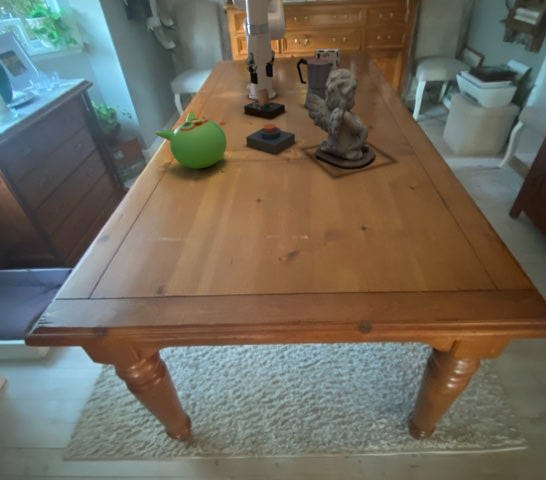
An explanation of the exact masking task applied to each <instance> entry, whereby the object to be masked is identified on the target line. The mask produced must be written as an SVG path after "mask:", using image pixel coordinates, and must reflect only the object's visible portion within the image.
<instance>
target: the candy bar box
mask: <svg viewBox="0 0 546 480" xmlns="http://www.w3.org/2000/svg"><path fill="white" fill-rule="evenodd" d="M318 53H319V54H321V56H320V58H322V59H327V60H329V61H331V62H333V63H334V65H333V66H332V68H331V70H330V72H329V74H328V77H329V76H330V74H331V72H333V71H334V70H337V69H341V48H316V49H315V50H314V58H317V54H318ZM328 77H327V80H328ZM325 91H326V85H325Z"/></svg>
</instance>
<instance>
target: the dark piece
mask: <svg viewBox="0 0 546 480" xmlns="http://www.w3.org/2000/svg"><path fill="white" fill-rule="evenodd" d="M245 140H246V146H247V147H249V148H253V149H256V150H259V151H264V152H267V153H271V154H274V155H278V154H279V153H281V152H282V151H284V150H286V149H287V148H289V147H291V146H292V145H293V144H295V143H296V134H295V133H292V132H289V131H284V130H281V129H280V128H279V127H277V126H276V132H273V133H266V132H264V127H262V128H261V129H259V130H256V131H255V132H253V133H251V134H249V135H247V136H245Z"/></svg>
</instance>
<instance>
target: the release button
mask: <svg viewBox="0 0 546 480" xmlns="http://www.w3.org/2000/svg"><path fill="white" fill-rule="evenodd" d="M276 127H277V125H275V124H273V123H269V124H265V125H264V126H263V128H264V132H266V133H273V132H276Z"/></svg>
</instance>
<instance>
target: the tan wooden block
mask: <svg viewBox="0 0 546 480" xmlns="http://www.w3.org/2000/svg"><path fill="white" fill-rule="evenodd" d="M258 100H259V106H260V107H267V106H269V102H270V99H269V91H268V90H267V89H264V90H259V91H258Z"/></svg>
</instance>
